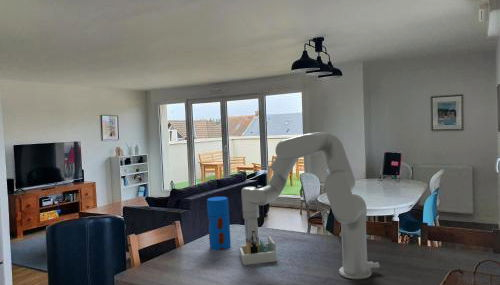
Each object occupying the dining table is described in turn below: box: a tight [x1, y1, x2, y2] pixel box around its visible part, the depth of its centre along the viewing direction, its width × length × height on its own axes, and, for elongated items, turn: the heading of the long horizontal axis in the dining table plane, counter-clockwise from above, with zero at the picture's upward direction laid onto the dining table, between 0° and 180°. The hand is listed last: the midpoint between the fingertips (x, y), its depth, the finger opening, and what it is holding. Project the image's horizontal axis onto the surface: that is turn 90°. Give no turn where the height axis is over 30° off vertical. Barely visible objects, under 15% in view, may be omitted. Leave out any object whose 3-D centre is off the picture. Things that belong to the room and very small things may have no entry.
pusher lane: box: [238, 235, 277, 266], centre depth 179 cm, size 15×14×8 cm
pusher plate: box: [259, 239, 267, 253], centre depth 179 cm, size 1×11×6 cm, turn 8°
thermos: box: [206, 196, 231, 251], centre depth 198 cm, size 11×11×25 cm
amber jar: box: [245, 236, 260, 254], centre depth 178 cm, size 6×6×8 cm
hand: (253, 252), depth 178 cm, fingers closed on amber jar, 6 cm apart
